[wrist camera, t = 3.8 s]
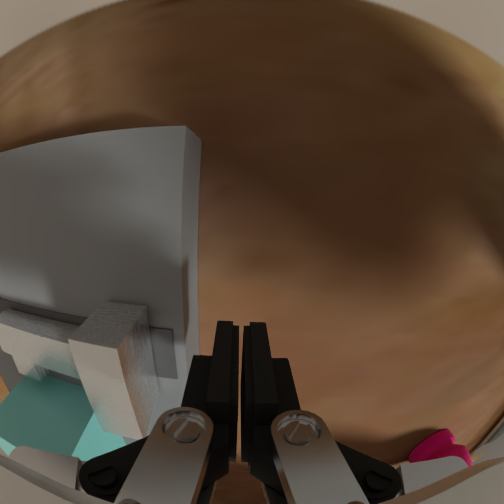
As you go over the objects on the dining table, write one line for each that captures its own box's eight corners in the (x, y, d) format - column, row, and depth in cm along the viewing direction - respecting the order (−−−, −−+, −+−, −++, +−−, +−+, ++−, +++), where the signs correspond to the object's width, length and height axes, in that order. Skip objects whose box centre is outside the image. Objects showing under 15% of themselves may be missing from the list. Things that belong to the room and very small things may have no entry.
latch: (146, 305, 10) (116, 348, 7) (160, 395, 12) (144, 442, 9) (1, 283, 10) (-35, 305, 7) (24, 359, 11) (-2, 387, 8)
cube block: (104, 392, 12) (63, 472, 6) (128, 449, 14) (106, 516, 8) (30, 368, 12) (-17, 425, 6) (60, 427, 13) (30, 480, 7)
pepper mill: (395, 458, 21) (446, 579, 2) (445, 420, 20) (516, 536, 1) (415, 465, 23) (461, 564, 3) (457, 431, 21) (516, 527, 2)
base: (202, 140, 13) (185, 124, 9) (206, 442, 18) (201, 480, 14) (-4, 164, 12) (-42, 166, 8) (49, 404, 18) (31, 430, 14)
